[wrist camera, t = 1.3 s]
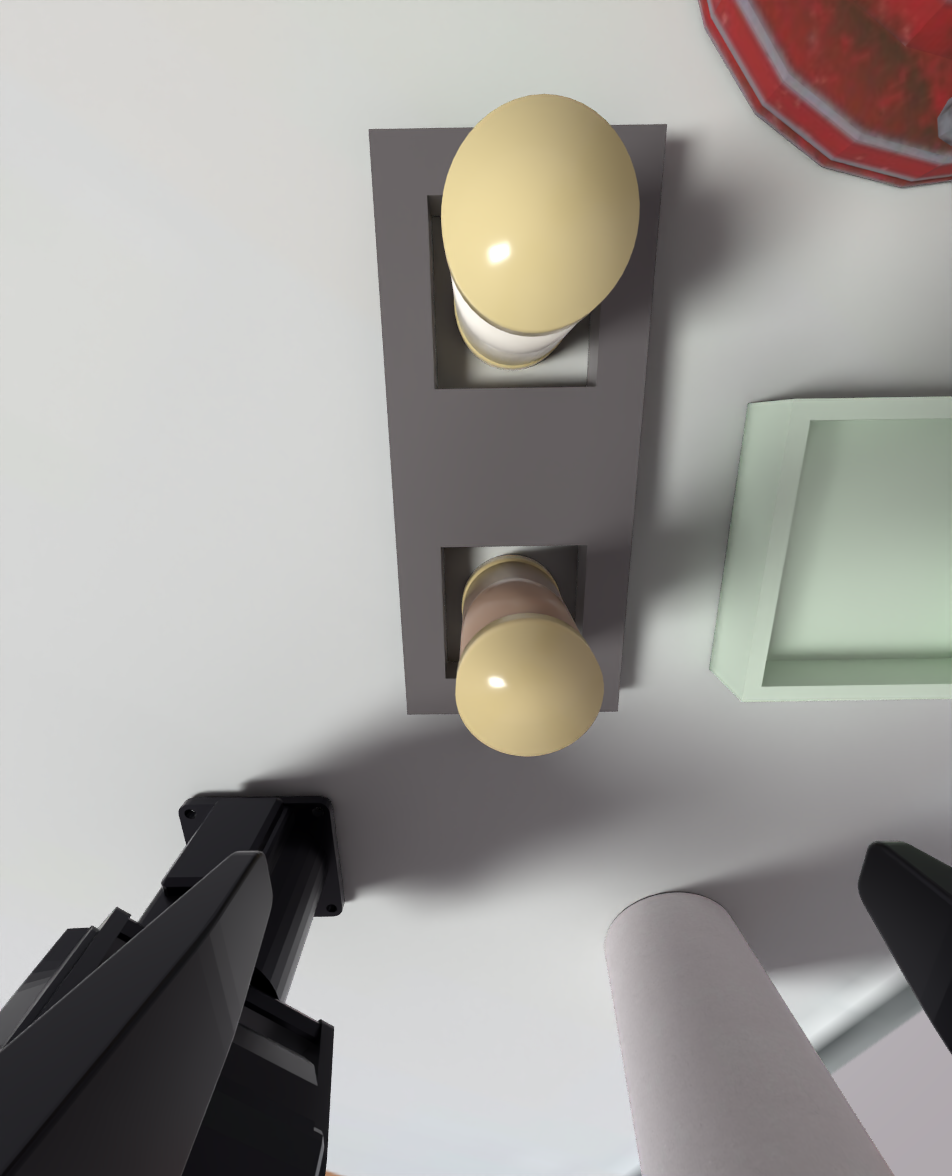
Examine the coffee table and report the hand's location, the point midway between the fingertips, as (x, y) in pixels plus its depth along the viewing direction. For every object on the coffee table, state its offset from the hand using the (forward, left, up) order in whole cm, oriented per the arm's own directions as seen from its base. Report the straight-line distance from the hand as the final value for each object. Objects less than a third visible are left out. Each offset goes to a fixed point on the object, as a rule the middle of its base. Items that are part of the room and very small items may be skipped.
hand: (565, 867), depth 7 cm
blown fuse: (0, 0, -12) cm, 12 cm away
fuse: (+10, 0, -12) cm, 16 cm away
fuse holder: (+5, 0, -12) cm, 13 cm away
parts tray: (+2, -13, -12) cm, 18 cm away
